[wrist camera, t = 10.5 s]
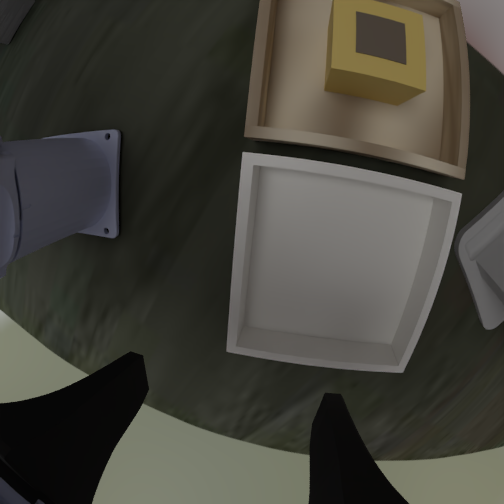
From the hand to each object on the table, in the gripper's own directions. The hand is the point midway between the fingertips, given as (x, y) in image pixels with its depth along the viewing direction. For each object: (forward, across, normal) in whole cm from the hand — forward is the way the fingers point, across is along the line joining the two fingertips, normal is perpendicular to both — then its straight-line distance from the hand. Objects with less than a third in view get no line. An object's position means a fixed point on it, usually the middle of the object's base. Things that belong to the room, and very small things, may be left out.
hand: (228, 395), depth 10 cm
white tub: (+10, -4, -2) cm, 11 cm away
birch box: (+10, -4, -16) cm, 19 cm away
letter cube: (+9, -4, -15) cm, 18 cm away
